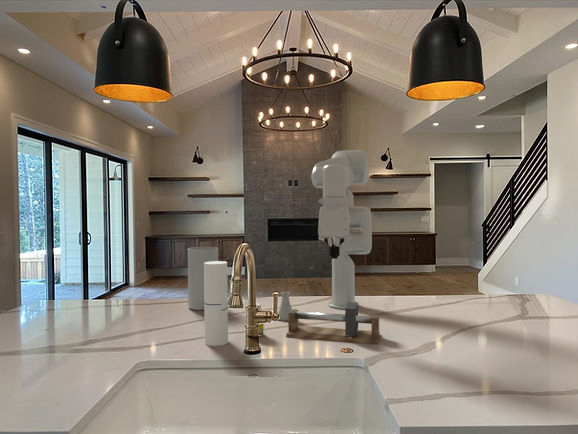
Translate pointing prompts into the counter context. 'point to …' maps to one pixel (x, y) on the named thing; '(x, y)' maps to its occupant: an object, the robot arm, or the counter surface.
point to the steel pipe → (330, 317)
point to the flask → (284, 307)
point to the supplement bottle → (260, 324)
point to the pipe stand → (332, 331)
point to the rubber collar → (351, 319)
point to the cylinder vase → (198, 274)
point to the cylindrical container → (216, 303)
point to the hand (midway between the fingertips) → (334, 258)
